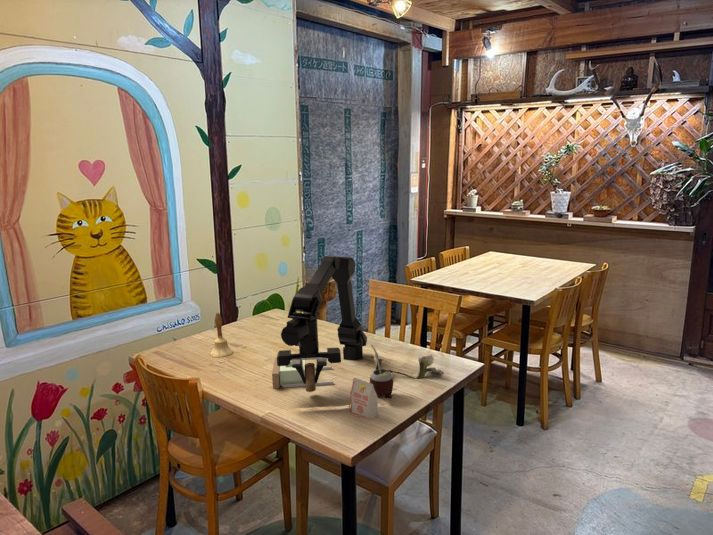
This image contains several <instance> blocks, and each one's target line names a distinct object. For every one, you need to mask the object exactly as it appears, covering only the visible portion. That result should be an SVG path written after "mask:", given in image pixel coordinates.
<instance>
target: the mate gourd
mask: <svg viewBox="0 0 713 535" xmlns="http://www.w3.org/2000/svg"><path fill="white" fill-rule="evenodd" d="M370 346H371V347H372V350H373V351H374V355H375V359H376V364H377V363H378V368H379V369H377V370H376V369H375V370H373V371H372V373H371V374H370V377H369V383H371V384H373V386H374V389H375V392H376V394H377V399H380V398H382V397H384V399H388V400H389V399H392V398H393V396H392V393H393V390H394V389H393V388H394V377H393V373H391V372H390V371H388V370H389V369H384V368H382V367H381V368H380V364H379V359H380V358H379V353H378V352H377V350H376V348H375V347H374V345H373V344H370Z"/></svg>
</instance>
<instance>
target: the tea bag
mask: <svg viewBox="0 0 713 535" xmlns="http://www.w3.org/2000/svg"><path fill="white" fill-rule="evenodd" d="M349 394H350V396H349V397H350V398H349V399H350V400H349V401H350V413H351V414H353V415H356V416H359V417H361V418H363V419H366V420H369V421H370V420H372V419H373V418H374V417H377V416H378V395H377V394H376V392H375V389H374V386H373V384H371V383H370V382H367V381H365V380H361V379H358V378H355V377H354V378H353V380H352V384H351V389H350V393H349Z"/></svg>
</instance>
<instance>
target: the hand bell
mask: <svg viewBox="0 0 713 535" xmlns="http://www.w3.org/2000/svg"><path fill="white" fill-rule="evenodd" d="M220 314H221V313H220V312H215V315H214V324H215V328H216V330H217V338H216V339H215V340H214V344H213V345H214V346H213V349H212V350H211V351H210V356H211V357H212V356H213V358H225V357H228V356H231V355H232V354H233V353H234V351H233V349H232V348H231V347H230V346H229V344H228V340H227V338H226V337H224V336H223V331H222V327H223V319H222V316H221V315H220Z"/></svg>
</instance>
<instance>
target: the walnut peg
mask: <svg viewBox="0 0 713 535" xmlns="http://www.w3.org/2000/svg"><path fill="white" fill-rule="evenodd" d="M315 367H316V365H315V363H314V362H306V364H305V383H306V386H305V391H306V392H308V393H311V392H312V393H313V392H315V391H316V390H317V388H316V387H317V386H316V384H315V374H316V370H315Z"/></svg>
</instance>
